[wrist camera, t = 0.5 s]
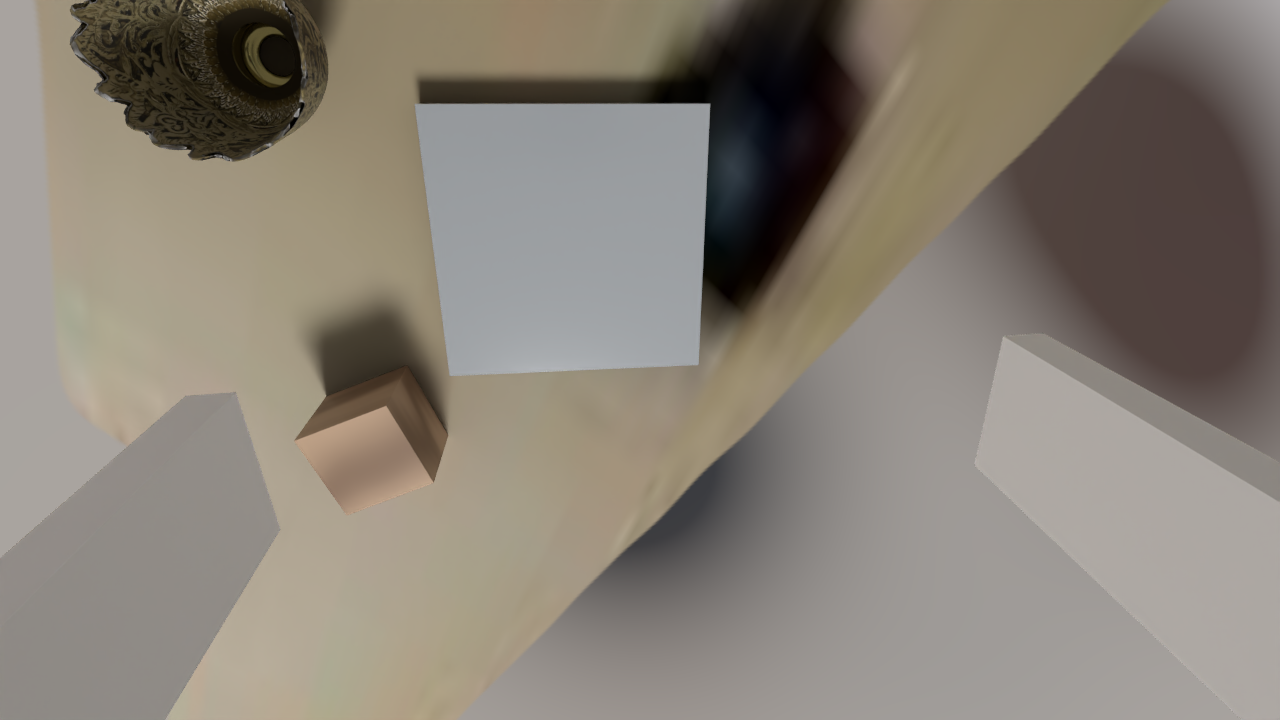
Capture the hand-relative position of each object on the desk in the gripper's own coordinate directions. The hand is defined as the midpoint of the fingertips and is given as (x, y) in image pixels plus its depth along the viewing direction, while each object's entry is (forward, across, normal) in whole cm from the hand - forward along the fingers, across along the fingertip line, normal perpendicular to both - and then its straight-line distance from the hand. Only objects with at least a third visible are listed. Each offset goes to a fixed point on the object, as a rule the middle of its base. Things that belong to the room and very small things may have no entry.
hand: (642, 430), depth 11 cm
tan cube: (+25, -12, -12) cm, 30 cm away
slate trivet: (+25, -1, -3) cm, 25 cm away
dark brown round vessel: (+25, -14, +7) cm, 29 cm away
